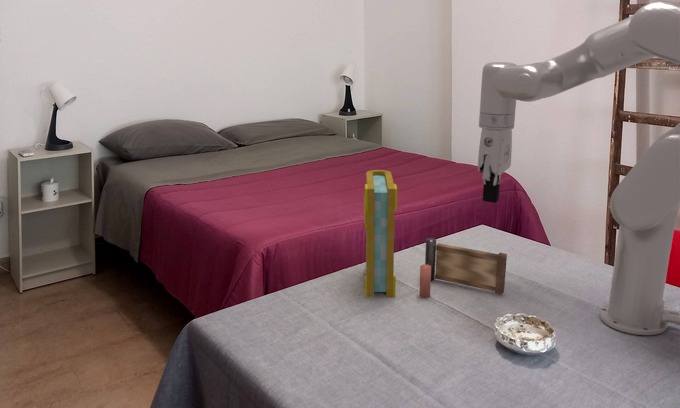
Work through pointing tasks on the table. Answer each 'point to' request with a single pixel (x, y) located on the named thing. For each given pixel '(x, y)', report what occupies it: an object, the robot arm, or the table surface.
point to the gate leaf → (471, 267)
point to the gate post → (431, 255)
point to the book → (379, 232)
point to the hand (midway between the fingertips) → (490, 200)
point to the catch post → (425, 281)
